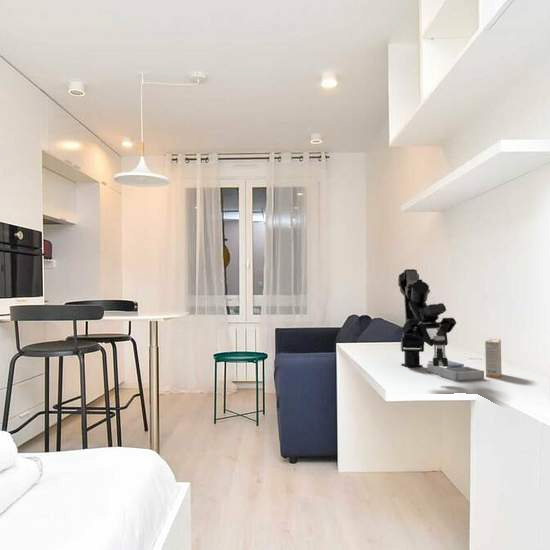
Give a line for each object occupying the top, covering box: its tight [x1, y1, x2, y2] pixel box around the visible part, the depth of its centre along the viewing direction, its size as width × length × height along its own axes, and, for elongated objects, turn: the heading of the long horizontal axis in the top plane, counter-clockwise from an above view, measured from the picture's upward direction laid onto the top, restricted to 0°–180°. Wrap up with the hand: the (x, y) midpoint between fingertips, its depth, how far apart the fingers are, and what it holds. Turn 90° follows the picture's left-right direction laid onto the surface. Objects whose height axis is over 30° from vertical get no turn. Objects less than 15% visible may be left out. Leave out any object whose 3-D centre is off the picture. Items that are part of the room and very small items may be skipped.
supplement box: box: [484, 338, 502, 379], centre depth 169 cm, size 8×5×13 cm, turn 149°
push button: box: [427, 335, 449, 367], centre depth 157 cm, size 7×5×10 cm
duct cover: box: [428, 359, 465, 368], centre depth 174 cm, size 9×9×1 cm
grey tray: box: [426, 363, 485, 382], centre depth 170 cm, size 19×12×3 cm, turn 15°
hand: (439, 345), depth 156 cm, fingers closed on push button, 5 cm apart
